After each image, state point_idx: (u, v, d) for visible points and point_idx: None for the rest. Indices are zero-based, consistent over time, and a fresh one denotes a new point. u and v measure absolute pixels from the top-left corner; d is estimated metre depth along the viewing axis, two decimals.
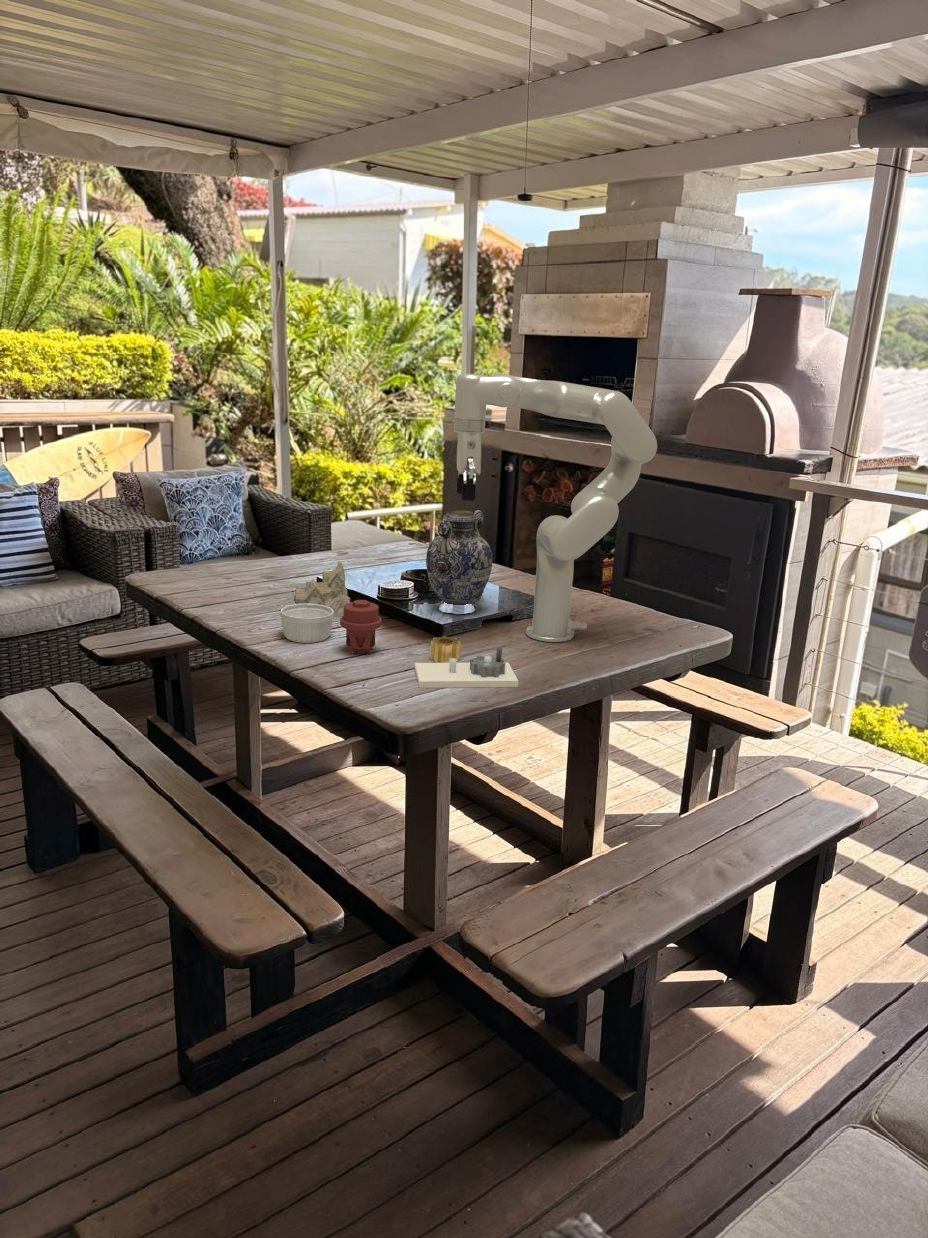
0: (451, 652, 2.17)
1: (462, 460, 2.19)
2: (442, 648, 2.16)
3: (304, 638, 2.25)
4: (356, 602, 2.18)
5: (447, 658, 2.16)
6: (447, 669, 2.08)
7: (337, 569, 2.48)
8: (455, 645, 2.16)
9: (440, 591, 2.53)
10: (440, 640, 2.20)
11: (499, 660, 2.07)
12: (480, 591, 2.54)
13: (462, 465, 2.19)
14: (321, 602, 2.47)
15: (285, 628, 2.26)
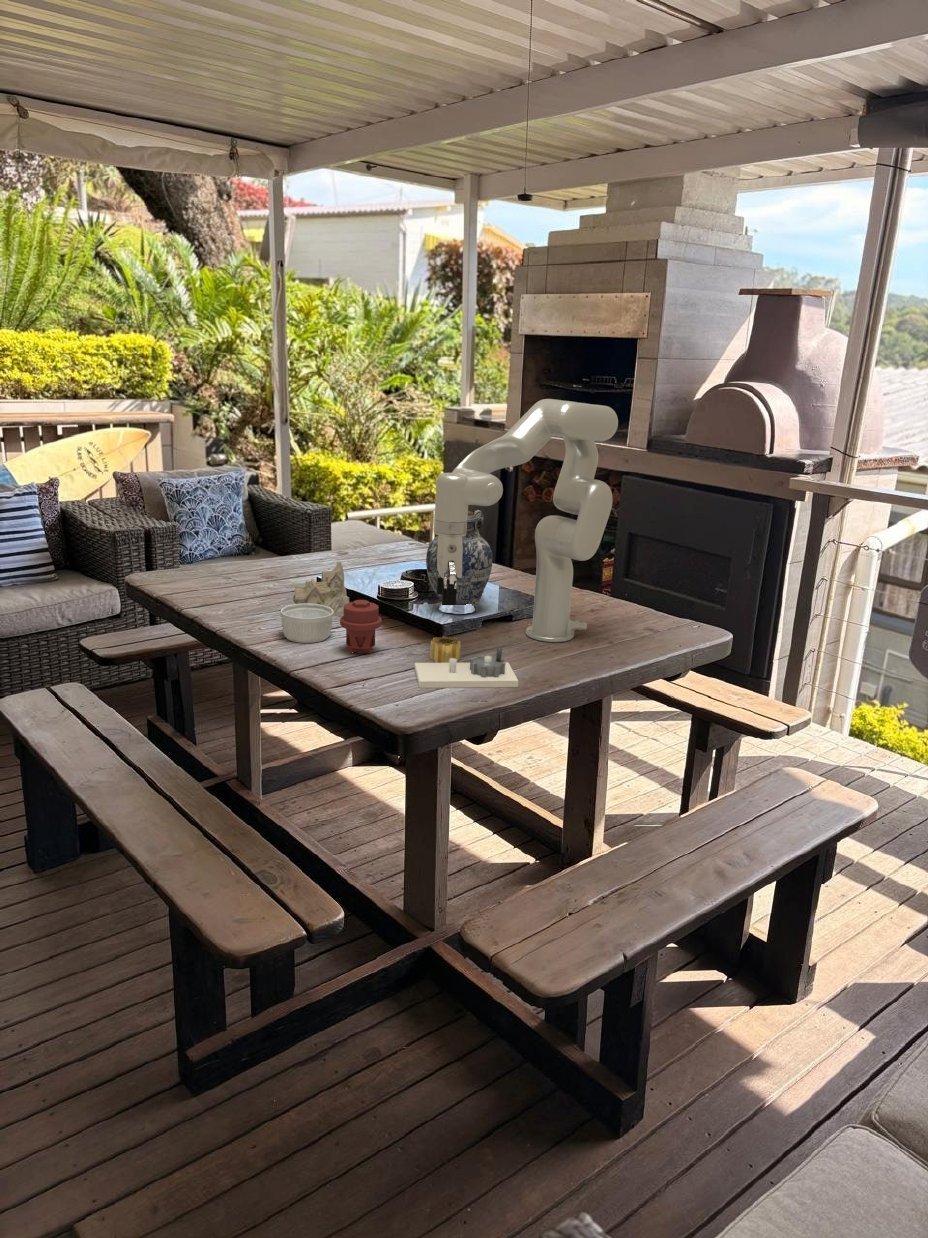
0: (451, 652, 2.17)
1: (442, 564, 2.08)
2: (442, 648, 2.16)
3: (304, 638, 2.25)
4: (356, 602, 2.18)
5: (447, 658, 2.16)
6: (447, 669, 2.08)
7: (336, 569, 2.48)
8: (455, 645, 2.16)
9: None
10: (440, 640, 2.20)
11: (499, 660, 2.07)
12: (480, 591, 2.54)
13: (442, 569, 2.08)
14: (320, 602, 2.47)
15: (285, 628, 2.26)
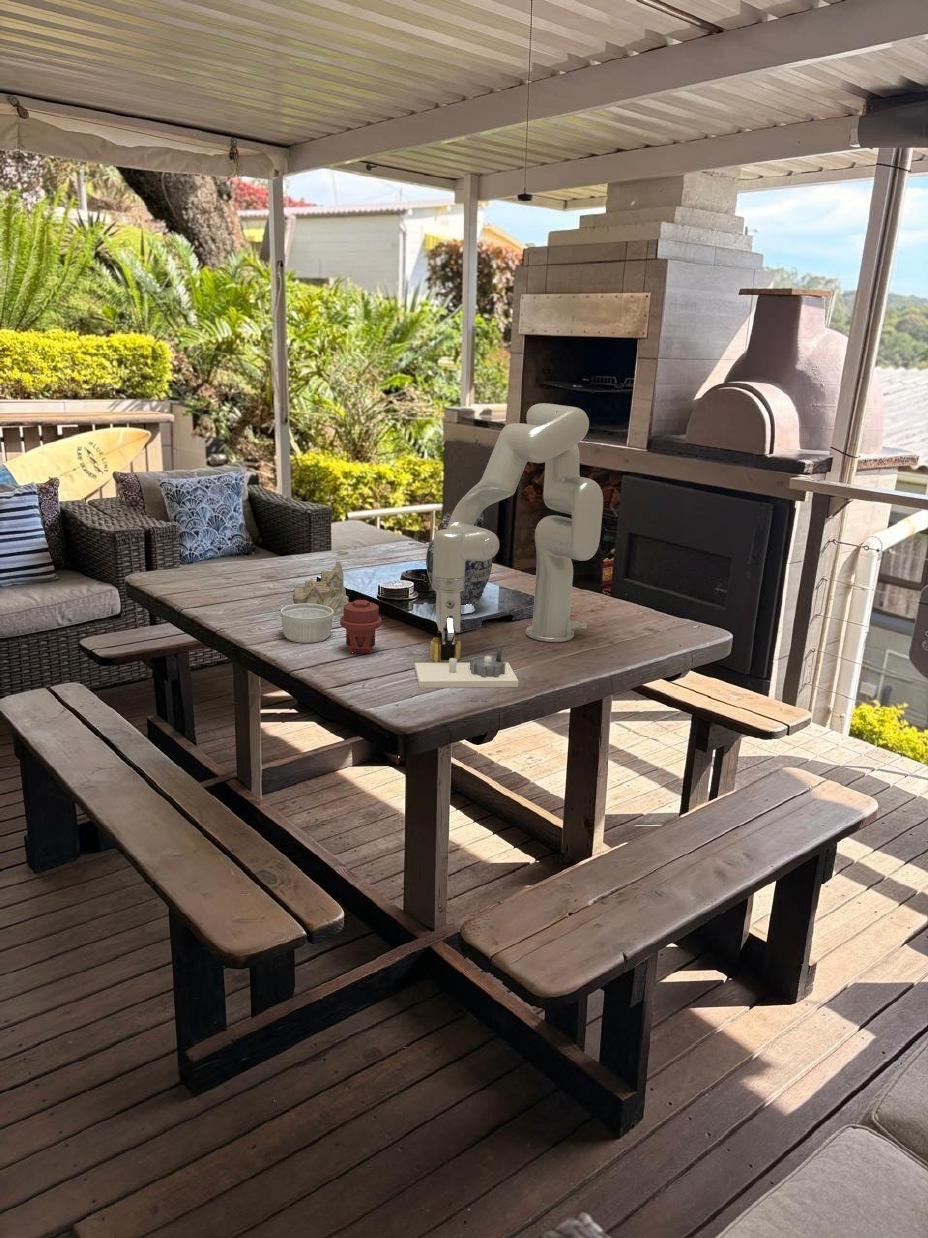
0: None
1: (441, 619, 2.12)
2: None
3: (304, 638, 2.25)
4: (356, 602, 2.18)
5: None
6: (447, 669, 2.08)
7: (336, 568, 2.48)
8: (455, 645, 2.16)
9: None
10: (440, 640, 2.20)
11: (499, 660, 2.07)
12: (480, 591, 2.54)
13: (441, 624, 2.12)
14: (320, 601, 2.47)
15: (285, 628, 2.26)
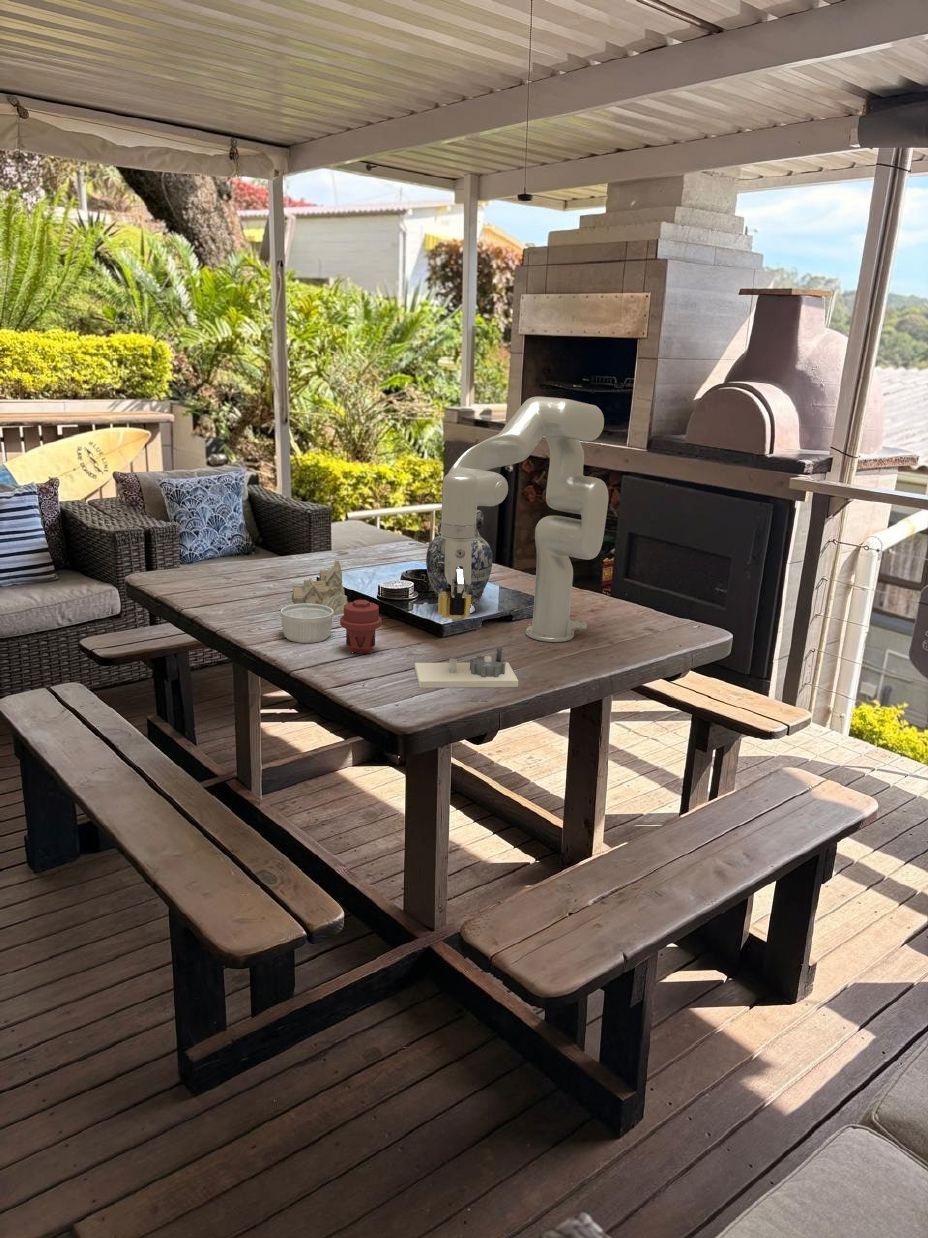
0: None
1: (450, 570, 1.96)
2: None
3: (304, 638, 2.25)
4: (356, 602, 2.18)
5: None
6: (447, 669, 2.08)
7: (334, 568, 2.49)
8: (465, 599, 2.00)
9: (440, 591, 2.53)
10: (449, 594, 2.04)
11: (499, 660, 2.07)
12: (480, 591, 2.54)
13: (450, 575, 1.96)
14: (319, 600, 2.48)
15: (285, 628, 2.26)
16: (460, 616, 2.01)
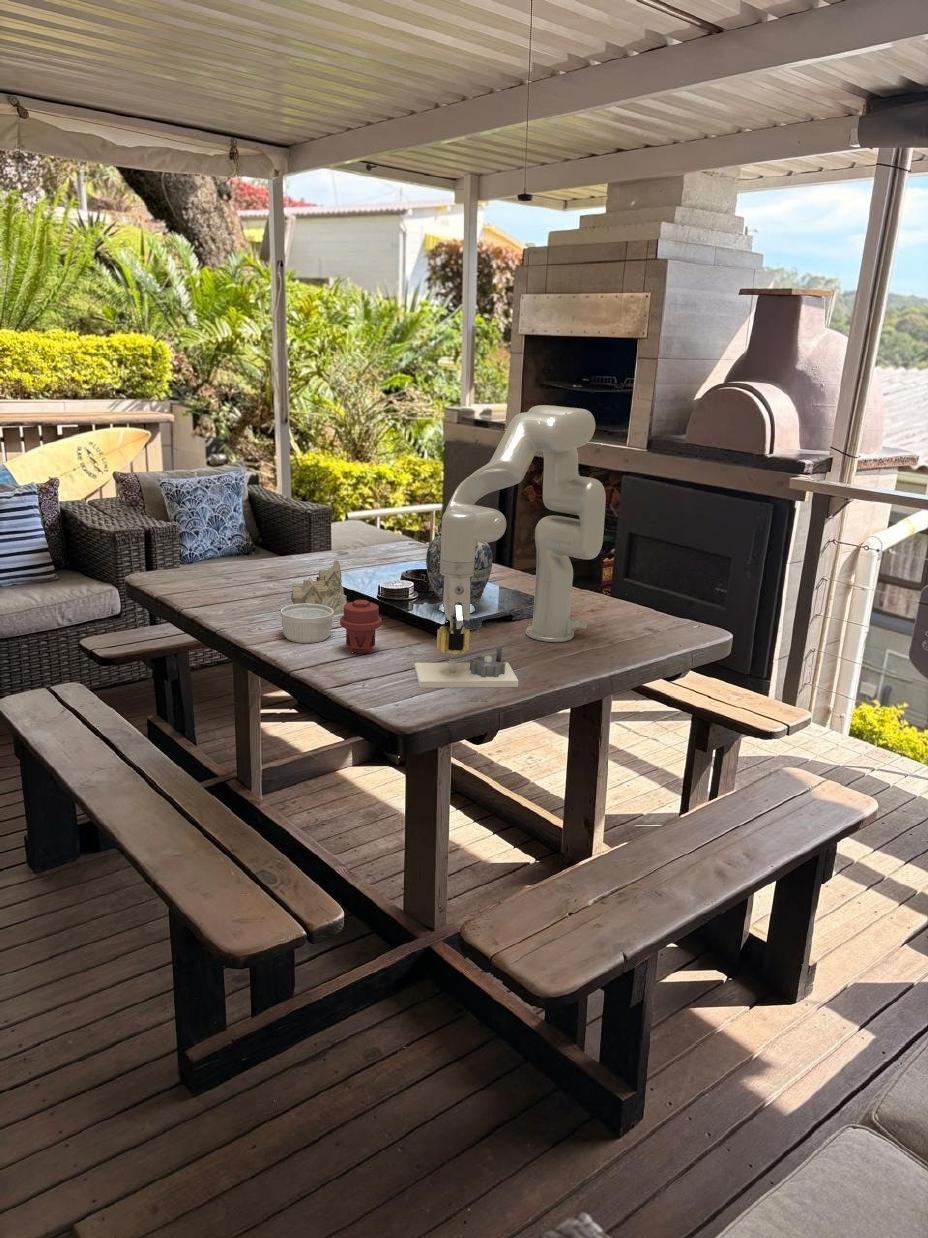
0: None
1: (449, 606, 1.97)
2: None
3: (304, 638, 2.25)
4: (356, 602, 2.18)
5: None
6: (447, 669, 2.08)
7: (334, 567, 2.49)
8: None
9: (440, 591, 2.53)
10: (447, 629, 2.05)
11: (499, 660, 2.07)
12: (480, 591, 2.54)
13: (449, 612, 1.98)
14: (318, 600, 2.48)
15: (285, 628, 2.26)
16: (459, 651, 2.03)
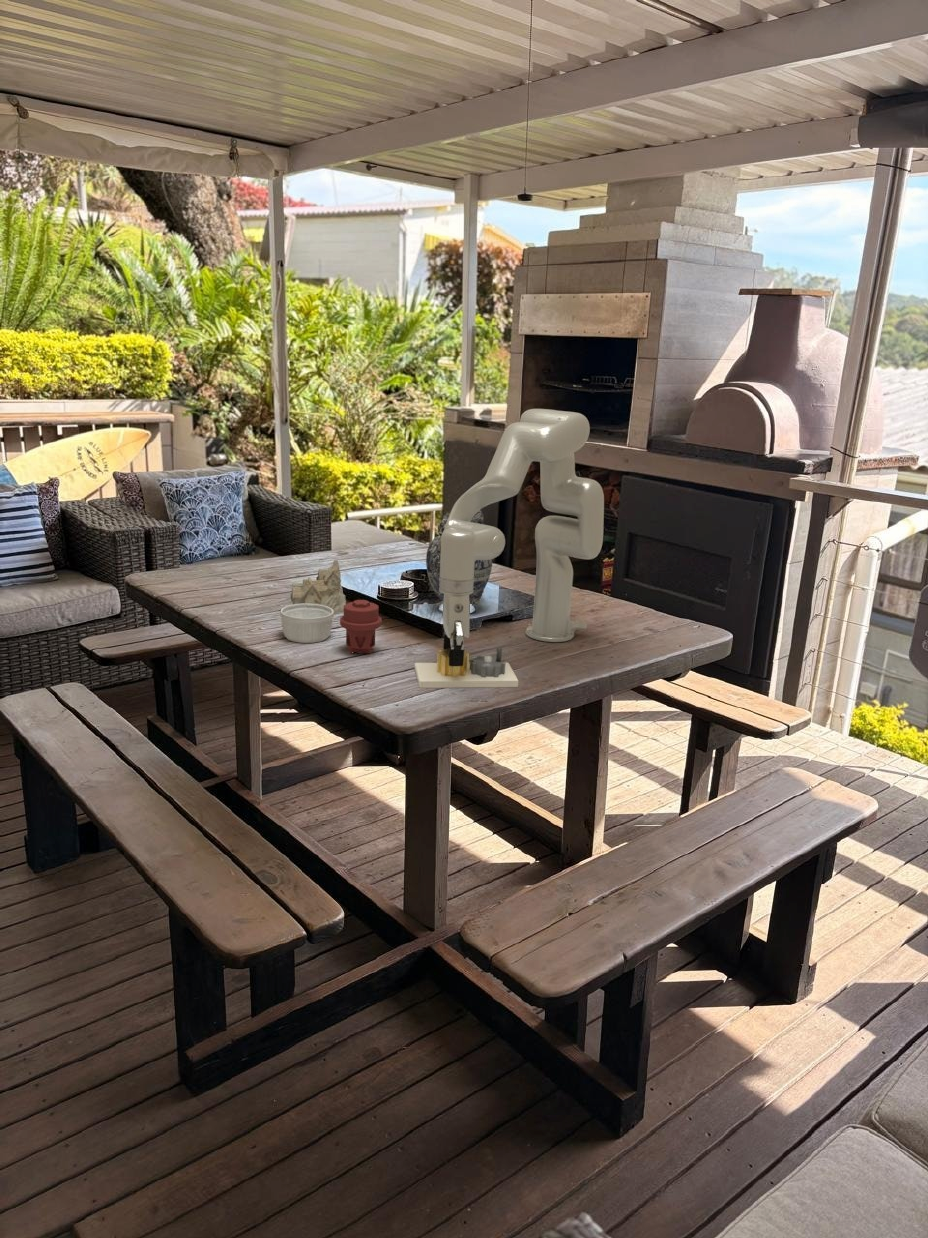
0: None
1: (449, 624, 1.99)
2: None
3: (304, 638, 2.25)
4: (356, 602, 2.18)
5: (455, 671, 2.03)
6: None
7: (333, 567, 2.50)
8: None
9: None
10: (447, 652, 2.07)
11: (499, 660, 2.07)
12: (480, 591, 2.54)
13: (449, 629, 1.99)
14: (317, 600, 2.49)
15: (285, 628, 2.26)
16: (459, 674, 2.05)
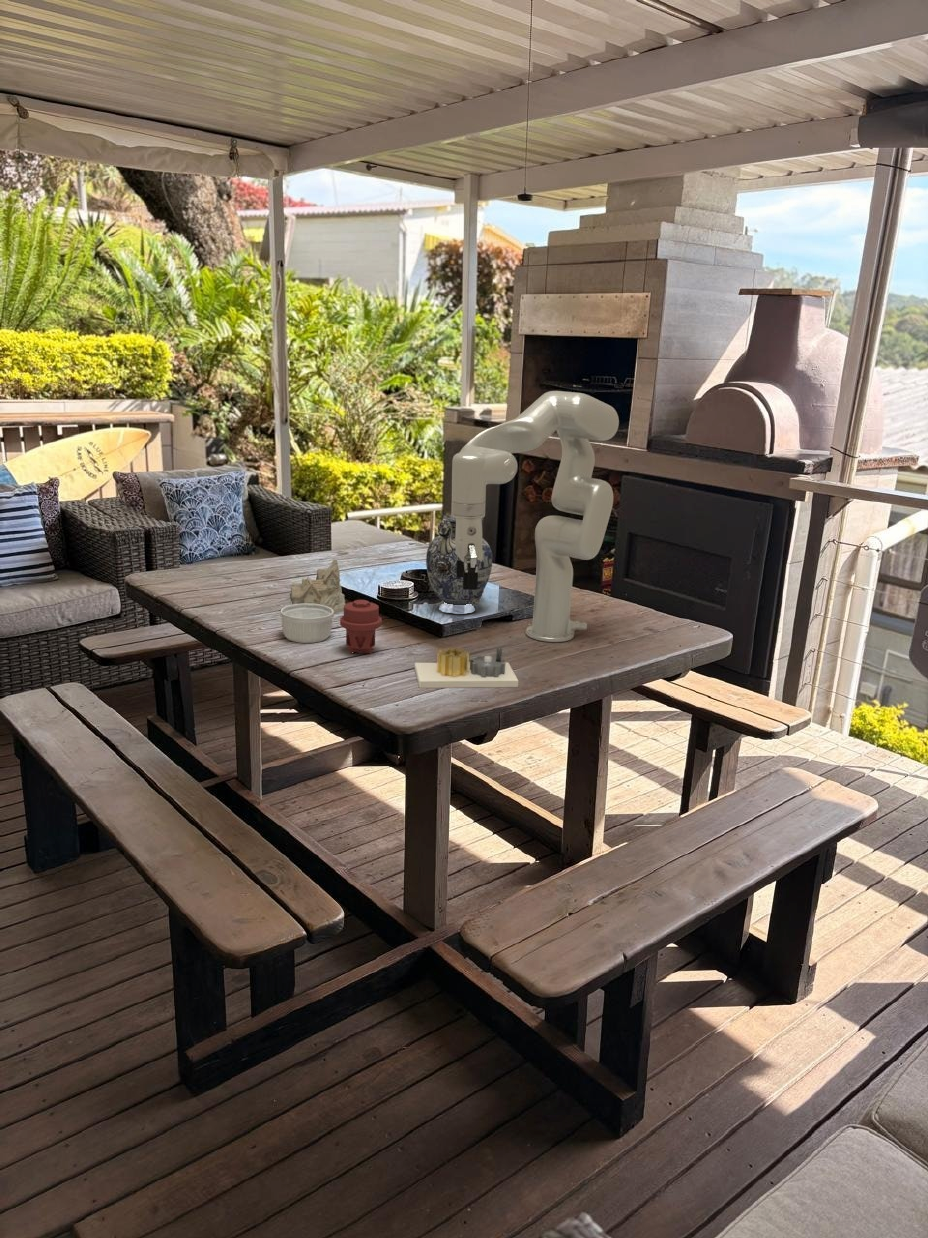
0: (459, 665, 2.04)
1: (462, 547, 2.01)
2: (449, 660, 2.03)
3: (304, 638, 2.25)
4: (356, 602, 2.18)
5: (455, 671, 2.03)
6: None
7: (332, 566, 2.50)
8: (463, 657, 2.04)
9: (440, 591, 2.53)
10: (447, 652, 2.07)
11: (499, 660, 2.07)
12: (480, 591, 2.54)
13: (462, 553, 2.02)
14: (317, 599, 2.49)
15: (285, 628, 2.26)
16: (459, 674, 2.05)
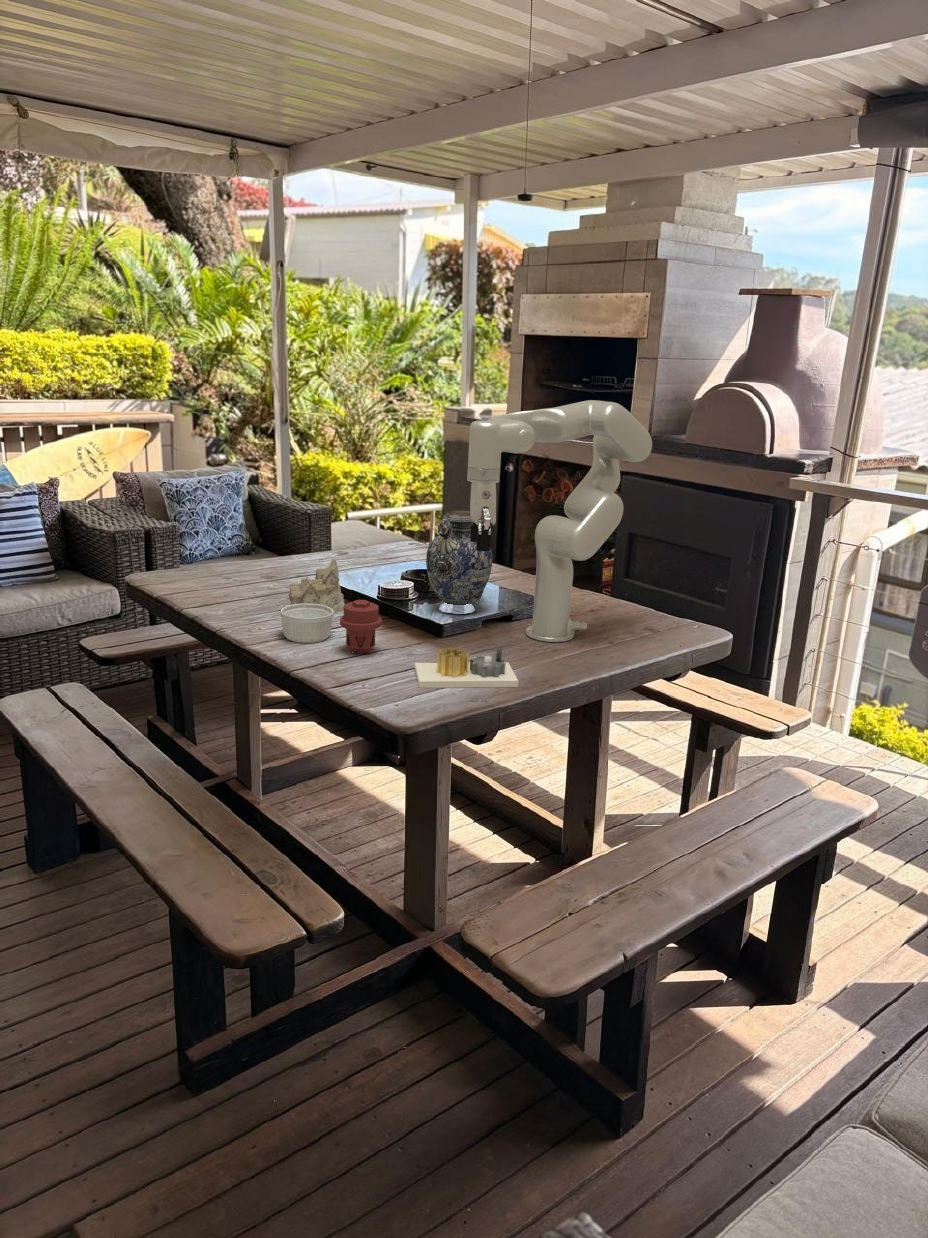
0: (459, 665, 2.04)
1: (477, 510, 2.12)
2: (449, 660, 2.03)
3: (304, 638, 2.25)
4: (356, 602, 2.18)
5: (455, 671, 2.03)
6: None
7: (331, 566, 2.51)
8: (463, 657, 2.04)
9: (440, 591, 2.53)
10: (447, 652, 2.07)
11: (499, 660, 2.07)
12: (480, 591, 2.54)
13: (477, 515, 2.12)
14: (316, 599, 2.50)
15: (285, 628, 2.26)
16: (459, 674, 2.05)
